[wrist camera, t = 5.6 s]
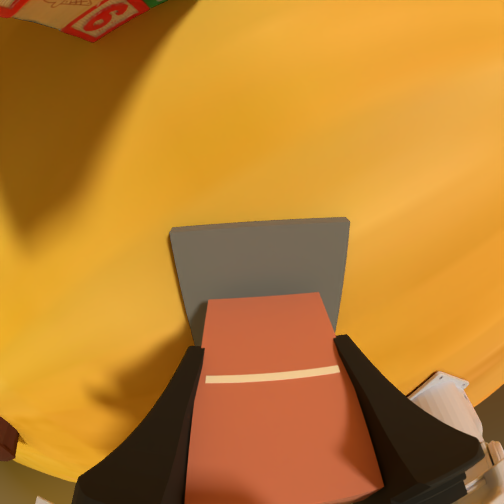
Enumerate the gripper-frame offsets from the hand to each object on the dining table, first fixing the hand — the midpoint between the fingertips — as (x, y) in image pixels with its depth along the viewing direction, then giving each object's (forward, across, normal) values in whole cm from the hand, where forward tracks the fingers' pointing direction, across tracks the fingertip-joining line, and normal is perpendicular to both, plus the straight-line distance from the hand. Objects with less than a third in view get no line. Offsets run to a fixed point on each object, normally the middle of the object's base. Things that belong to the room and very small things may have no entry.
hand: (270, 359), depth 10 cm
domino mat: (+4, 0, +10) cm, 11 cm away
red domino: (+3, 0, 0) cm, 3 cm away
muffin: (+5, +56, +35) cm, 66 cm away
